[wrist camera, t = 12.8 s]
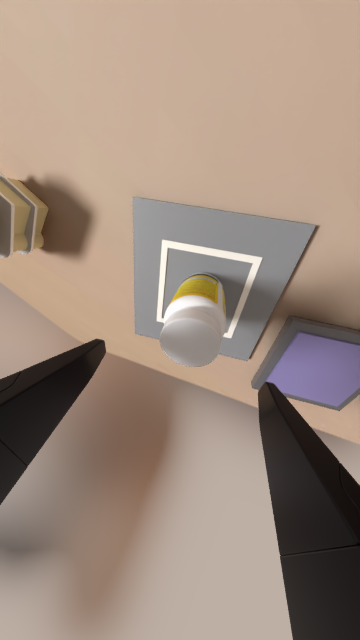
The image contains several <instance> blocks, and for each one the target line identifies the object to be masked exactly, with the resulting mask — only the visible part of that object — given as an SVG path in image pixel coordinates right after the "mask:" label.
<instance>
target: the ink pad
mask: <svg viewBox="0 0 360 640" xmlns="http://www.w3.org/2000/svg"><path fill="white" fill-rule="evenodd" d="M264 382H270V383H274V384H275V385H276V386H277V388H278V389H279V390H280V391H281V392H282V394H283V395H284V396H285V397H288V398H292V399H295V400H299V401H303V402H307V403H311V404H315V405H318V406H322V407H326V408H330V409H334V410H338V411H340V410H341V409H342V408H343V407H345V406H346V405H347V404H348V403H350V402H351V401H352V400H353V399H354V398H356V397H357V396H358V395H359V394H360V331H359V330H354V329H350V328H345V327H340V326H335V325H331V324H326V323H321V322H316V321H312V320H307V319H302V318H298V317H293V316H289V318H288V320H287V321H286V323H285V325H284V326H283V328H282V330H281V332H280V333H279V335H278V337H277V338H276V340H275V342H274V344H273V345H272V347H271V349H270V350H269V352H268V354H267V356H266V357H265V359H264V361H263V362H262V364H261V366H260V368H259V369H258V371H257V373H256V375H255V376H254V378H253V380H252V381H251V384H252V388H253V389H257V390H260V388H261V387H262V385H263V384H264Z"/></svg>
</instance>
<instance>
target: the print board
mask: <svg viewBox="0 0 360 640" xmlns="http://www.w3.org/2000/svg"><path fill="white" fill-rule="evenodd" d="M315 226H316V225H311V224H304V223H298V222H291V221H285V220H279V219H272V218H266V217H259V216H253V215H246V214H240V213H233V212H227V211H221V210H214V209H208V208H201V207H195V206H188V205H182V204H175V203H169V202H163V201H156V200H150V199H143V198H137V197H133V243H134V303H135V334H138V335H142V336H146V337H150V338H155V339H159V340H160V333H161V331H162V328H163V326H164V316H165V312H166V310H167V308H168V306H169V304H170V303H171V301H172V299H173V297H174V296H175V294H176V292H177V290H178V289H179V287H180V285H181V284H182V282H183V281H184V280H185V279H186V278H187V277H189V276H190V275H192V274H195V273H208V274H210V275H212V276H214V277H216V278H217V279H218V280H219V281H220V282H221V284H222V286H223V288H224V292H225V307H226V330H225V333H224V336H223V337H222V339H221V350H220V352H219V354H220V355H224V356H228V357H232V358H236V359H240V360H244V361H248V359H249V357H250V355H251V353H252V351H253V349H254V347H255V345H256V343H257V341H258V339H259V337H260V335H261V333H262V331H263V329H264V327H265V325H266V323H267V321H268V319H269V317H270V315H271V313H272V311H273V309H274V307H275V305H276V303H277V301H278V300H279V298H280V296H281V294H282V292H283V290H284V288H285V286H286V284H287V282H288V280H289V278H290V276H291V274H292V272H293V270H294V268H295V266H296V264H297V262H298V260H299V258H300V256H301V254H302V252H303V250H304V248H305V246H306V244H307V242H308V240H309V238H310V236H311V234H312V232H313V230H314V228H315Z"/></svg>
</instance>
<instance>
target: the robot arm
mask: <svg viewBox="0 0 360 640" xmlns="http://www.w3.org/2000/svg"><path fill="white" fill-rule="evenodd" d="M105 353H106V348H105V342H104V340H101V339H95V340H92V341H90V342H88V343H85V344H83V345H81V346H79V347H76V348H74V349H71V350H69V351H67V352H64V353H62V354H59V355H57V356H55V357H52V358H50V359H48V360H46V361H43V362H41V363H38V364H36V365H33V366H31V367H29V368H26V369H24V370H22V371H19V372H17V373H15V374H12V375H10V376H7V377H5V378H2V379H0V505H1V503H2V502H3V500H4V499H5V498H6V496H7V495H8V493H9V492H10V491H11V489H12V488H13V487H14V485H15V484H16V482H17V481H18V480H19V478H20V477H21V475H22V474H23V473H24V471H25V470H26V468H27V466H28V465H29V464H30V463H31V461H32V460H33V459H34V457H35V456H36V454H37V453H38V451H39V450H40V449H41V447H42V446H43V445H44V443H45V442H46V440H47V439H48V438H49V436H50V435H51V434H52V432H53V431H54V429H55V428H56V427H57V425H58V424H59V422H60V421H61V420H62V418H63V417H64V416H65V414H66V413H67V411H68V410H69V409H70V407H71V406H72V404H73V403H74V402H75V400H76V399H77V397H78V396H79V394H80V393H81V392H82V390H83V389H84V388H85V386H86V385H87V384H88V382H89V381H90V379H91V378H92V376H93V375H94V373H95V371H96V369H97V368H98V366H99V364H100V362H101V360H102V359H103V357H104V355H105ZM258 404H259V423H260V431H261V437H262V444H263V450H264V456H265V463H266V469H267V475H268V482H269V489H270V495H271V501H272V508H273V514H274V521H275V527H276V533H277V540H278V546H279V552H280V555H281V556H280V560H281V566H282V572H283V579H284V585H285V591H286V598H287V604H288V610H289V617H290V623H291V630H292V636H293V640H360V485H359V484H358V483H357V482H356V481H355V479H354V478H353V477H352V476H351V475H350V474H349V472H348V471H347V470H346V469H345V468H344V467H343V465H342V464H341V463H339V461H338V460H337V458H336V457H335V456H334V455H333V453H332V452H331V451H330V450H329V449H328V448H327V446H326V445H325V444H324V443H323V442H322V440H321V439H320V438H319V437H318V436H317V434H316V433H315V432H314V431H313V429H312V428H311V427H310V426H309V425H308V423H307V422H306V421H305V420H304V419H303V417H302V416H301V415H300V414H299V413H298V411H297V410H296V409H295V408H294V407H293V405H292V404H291V403H290V402H289V401H288V399H287V398H286V397H285V396H284V395H283V394H282V392H281V391H280V390H279V389H278V388H277V386H276V385H275V384H274V383H270V382H264V384H263V385H262V387H261V388H260V390H259V392H258Z"/></svg>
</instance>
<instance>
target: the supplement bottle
mask: <svg viewBox="0 0 360 640" xmlns="http://www.w3.org/2000/svg"><path fill="white" fill-rule="evenodd" d="M225 330H226V307H225V292H224V288H223V286H222V284H221V282H220V281H219V280H218V279H217V278H216V277H214V276H212V275H210V274H208V273H195V274H192V275H190V276H189V277H187V278H186V279H185V280H184V281H183V282H182V284H181V285H180V287H179V289H178V290H177V292H176V294H175V296H174V297H173V299H172V301H171V303H170V304H169V306H168V308H167V310H166V312H165V316H164V326H163V328H162V331H161V333H160V345H161V348H162V350H163V351H164V353H165V354H166V355H167V356H168V357H169V358H170V359H171V360H173V361H174V362H176V363H178V364H181V365H184V366H189V367H200V366H204V365H207V364H209V363H211V362H212V361H213V360H215V358H216V357H217V356H218V355H219V352H220V350H221V339H222V337H223V336H224V333H225Z"/></svg>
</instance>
